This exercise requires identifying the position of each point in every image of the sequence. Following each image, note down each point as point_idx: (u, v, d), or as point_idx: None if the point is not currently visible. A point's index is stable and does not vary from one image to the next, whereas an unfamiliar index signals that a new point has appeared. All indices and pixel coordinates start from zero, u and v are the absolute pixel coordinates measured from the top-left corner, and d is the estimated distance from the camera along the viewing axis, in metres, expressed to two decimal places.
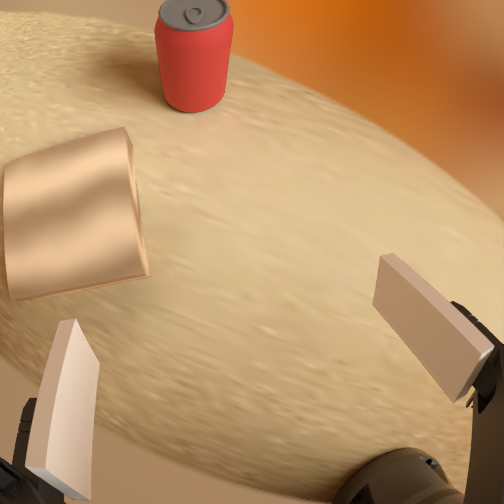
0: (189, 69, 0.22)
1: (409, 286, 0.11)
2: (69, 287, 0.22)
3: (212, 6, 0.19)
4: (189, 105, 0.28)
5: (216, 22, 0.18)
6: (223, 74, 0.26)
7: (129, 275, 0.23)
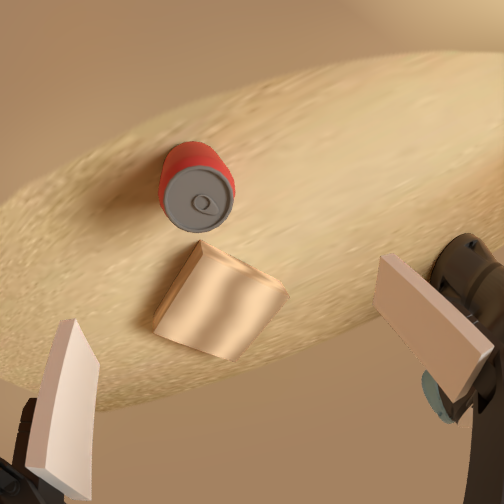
0: None
1: (409, 286, 0.11)
2: (261, 331, 0.42)
3: (204, 181, 0.24)
4: None
5: (232, 199, 0.25)
6: None
7: (284, 302, 0.41)
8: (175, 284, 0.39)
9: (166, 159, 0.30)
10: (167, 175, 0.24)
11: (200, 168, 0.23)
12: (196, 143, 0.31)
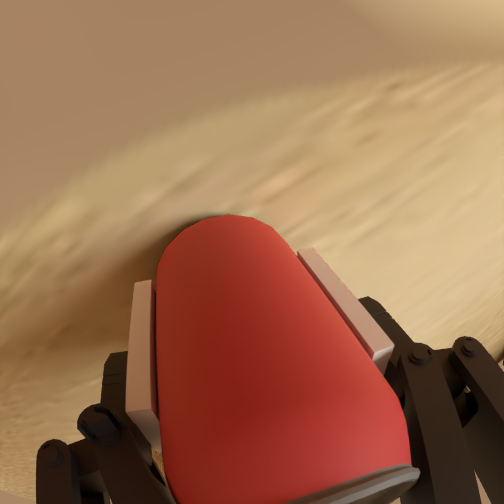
0: None
1: (317, 280, 0.12)
2: None
3: None
4: None
5: (405, 491, 0.06)
6: None
7: None
8: None
9: (164, 282, 0.11)
10: (199, 486, 0.05)
11: (354, 501, 0.04)
12: (245, 231, 0.12)
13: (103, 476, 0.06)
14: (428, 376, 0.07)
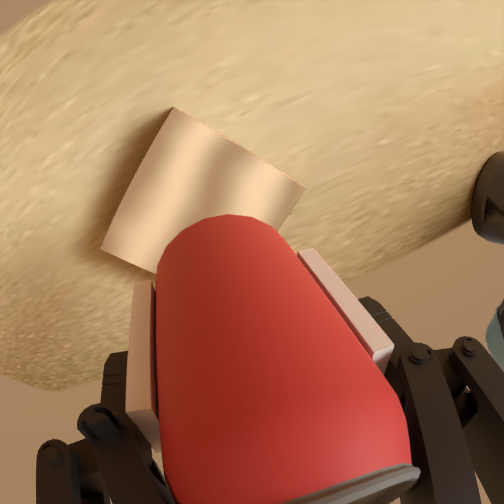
0: None
1: (317, 280, 0.12)
2: None
3: None
4: None
5: (406, 491, 0.06)
6: None
7: (299, 198, 0.27)
8: (135, 173, 0.25)
9: (164, 281, 0.11)
10: (198, 485, 0.05)
11: (354, 500, 0.04)
12: (244, 230, 0.12)
13: (103, 476, 0.06)
14: (428, 376, 0.07)
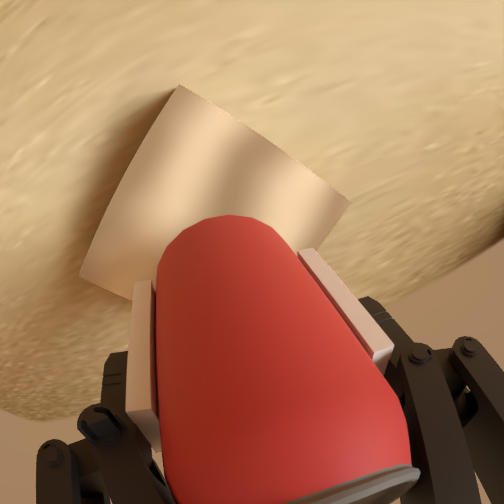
0: None
1: (317, 280, 0.12)
2: None
3: None
4: None
5: (405, 491, 0.06)
6: None
7: (342, 214, 0.20)
8: None
9: (164, 282, 0.11)
10: (199, 486, 0.05)
11: (354, 501, 0.04)
12: (245, 231, 0.12)
13: (103, 476, 0.06)
14: (428, 376, 0.07)
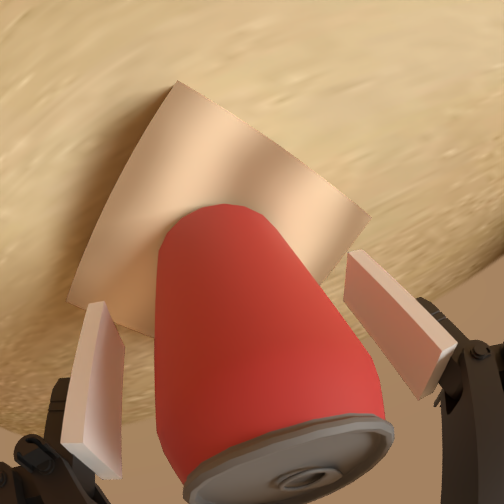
0: None
1: (374, 281, 0.12)
2: None
3: (321, 445, 0.06)
4: None
5: (385, 454, 0.07)
6: None
7: (361, 230, 0.18)
8: None
9: (164, 262, 0.12)
10: (183, 426, 0.06)
11: (322, 438, 0.05)
12: (237, 216, 0.13)
13: None
14: (485, 371, 0.07)
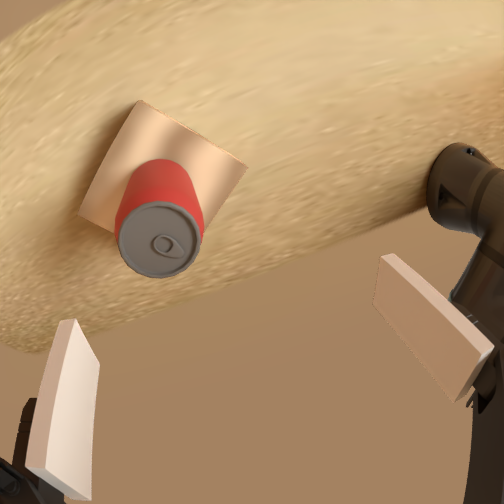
0: None
1: (409, 286, 0.11)
2: (213, 217, 0.33)
3: (164, 219, 0.20)
4: None
5: (199, 240, 0.21)
6: (195, 193, 0.26)
7: (242, 175, 0.32)
8: None
9: (128, 182, 0.26)
10: (122, 211, 0.20)
11: (158, 205, 0.19)
12: (162, 162, 0.27)
13: None
14: None
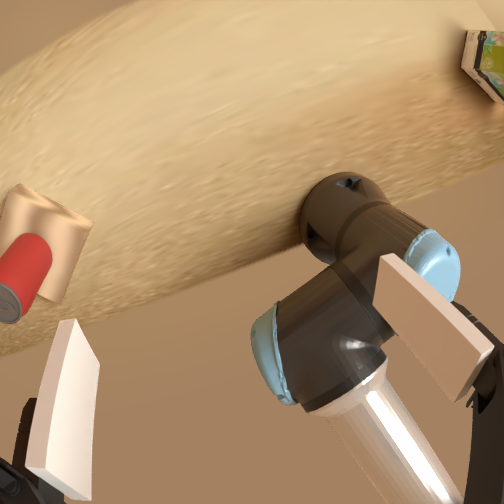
0: None
1: (409, 286, 0.11)
2: (72, 271, 0.38)
3: (0, 291, 0.25)
4: None
5: (19, 304, 0.26)
6: (39, 262, 0.32)
7: (84, 239, 0.37)
8: None
9: None
10: None
11: None
12: (24, 238, 0.32)
13: None
14: None
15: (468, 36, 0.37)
